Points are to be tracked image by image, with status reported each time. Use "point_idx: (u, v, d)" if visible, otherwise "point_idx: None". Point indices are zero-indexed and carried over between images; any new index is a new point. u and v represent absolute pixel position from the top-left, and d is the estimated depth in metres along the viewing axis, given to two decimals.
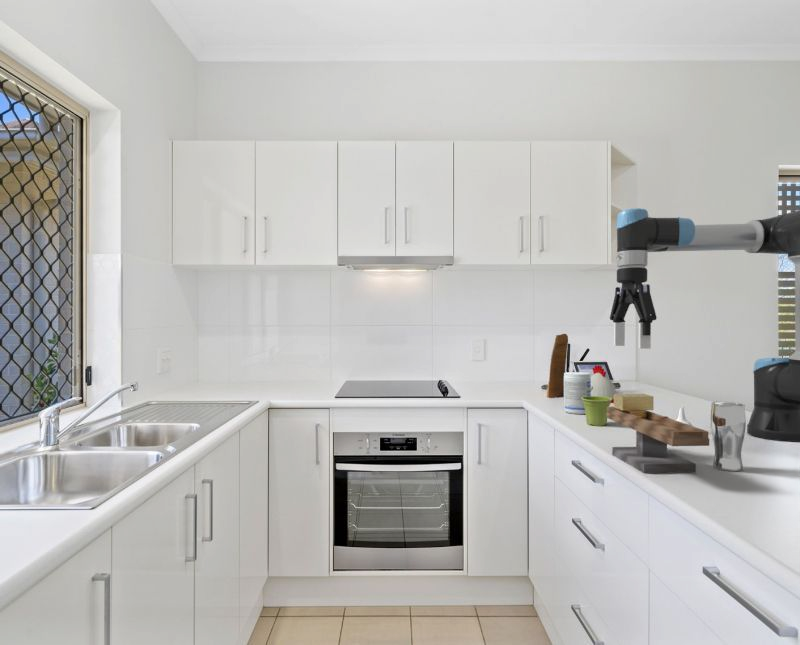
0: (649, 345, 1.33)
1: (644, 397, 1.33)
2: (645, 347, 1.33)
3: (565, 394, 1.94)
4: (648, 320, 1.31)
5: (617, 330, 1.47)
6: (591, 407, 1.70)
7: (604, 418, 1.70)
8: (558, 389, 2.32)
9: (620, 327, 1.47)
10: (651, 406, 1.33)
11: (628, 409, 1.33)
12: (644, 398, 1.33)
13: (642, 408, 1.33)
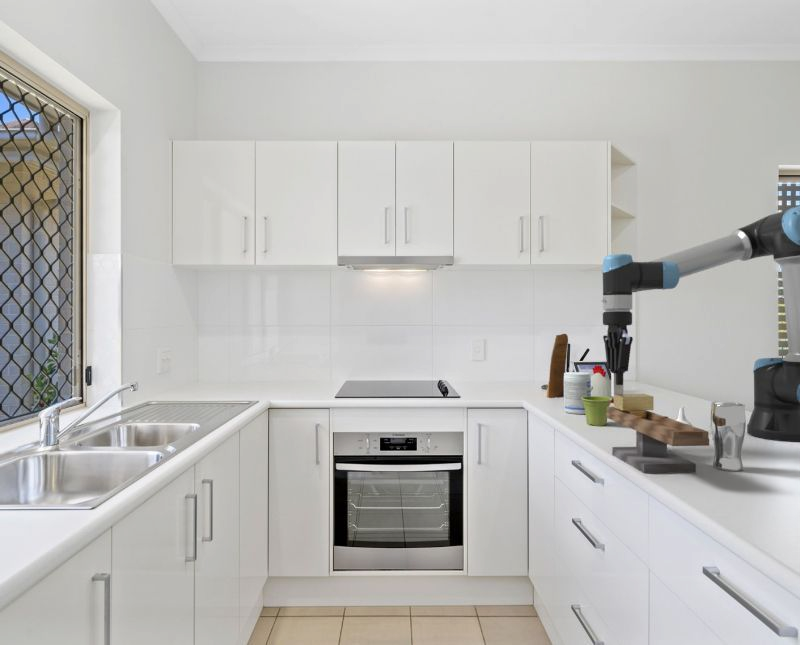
0: (622, 393, 1.44)
1: (644, 397, 1.33)
2: None
3: (565, 394, 1.94)
4: None
5: None
6: (591, 407, 1.70)
7: (604, 418, 1.70)
8: (558, 389, 2.32)
9: None
10: (651, 406, 1.33)
11: (628, 409, 1.33)
12: (644, 398, 1.33)
13: (642, 408, 1.33)
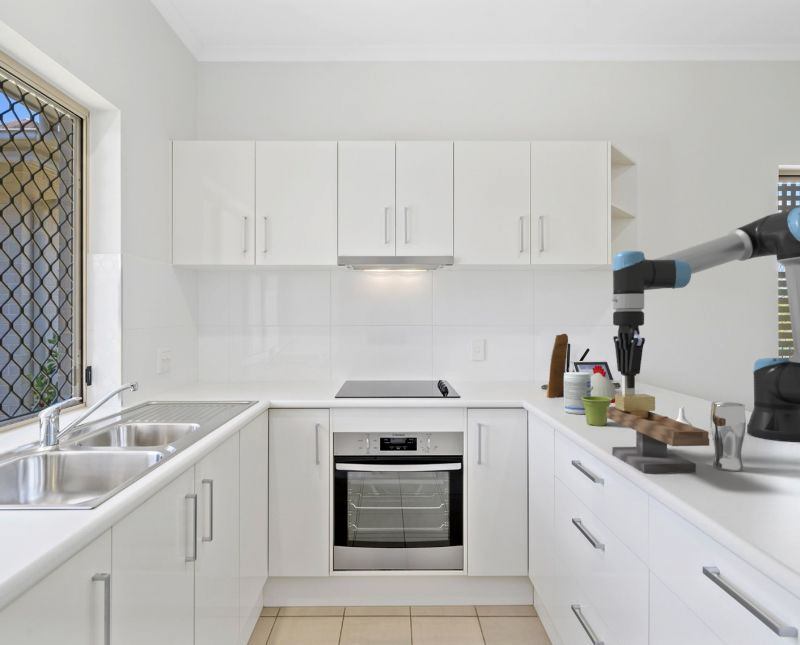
0: None
1: (646, 397, 1.32)
2: None
3: (565, 394, 1.94)
4: None
5: None
6: (591, 407, 1.70)
7: (604, 418, 1.70)
8: (558, 389, 2.32)
9: None
10: (653, 406, 1.32)
11: (629, 410, 1.32)
12: (645, 399, 1.32)
13: (644, 409, 1.32)
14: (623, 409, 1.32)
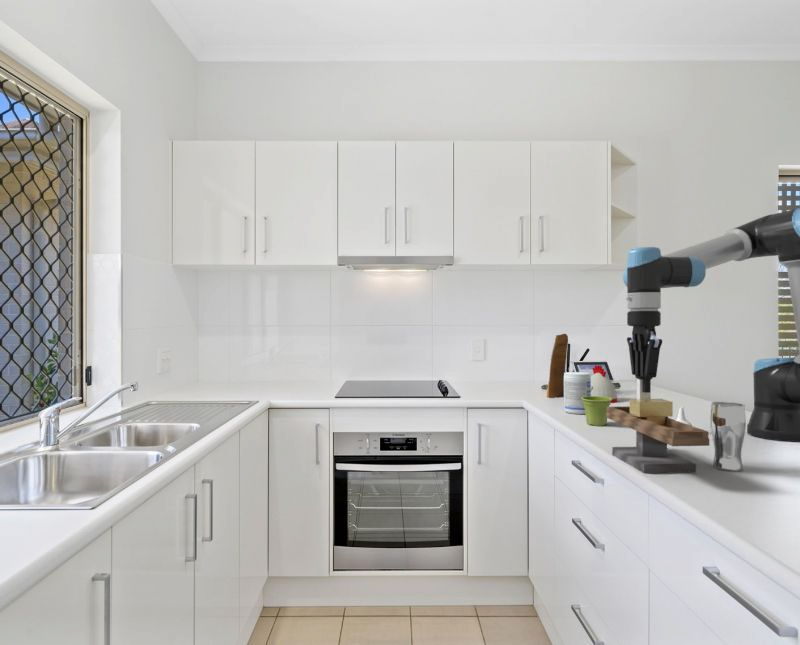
0: None
1: (663, 402, 1.24)
2: None
3: (565, 394, 1.94)
4: None
5: None
6: (591, 407, 1.70)
7: (604, 418, 1.70)
8: (558, 389, 2.32)
9: None
10: (670, 412, 1.24)
11: (645, 415, 1.24)
12: (662, 404, 1.24)
13: (660, 414, 1.24)
14: (639, 415, 1.25)
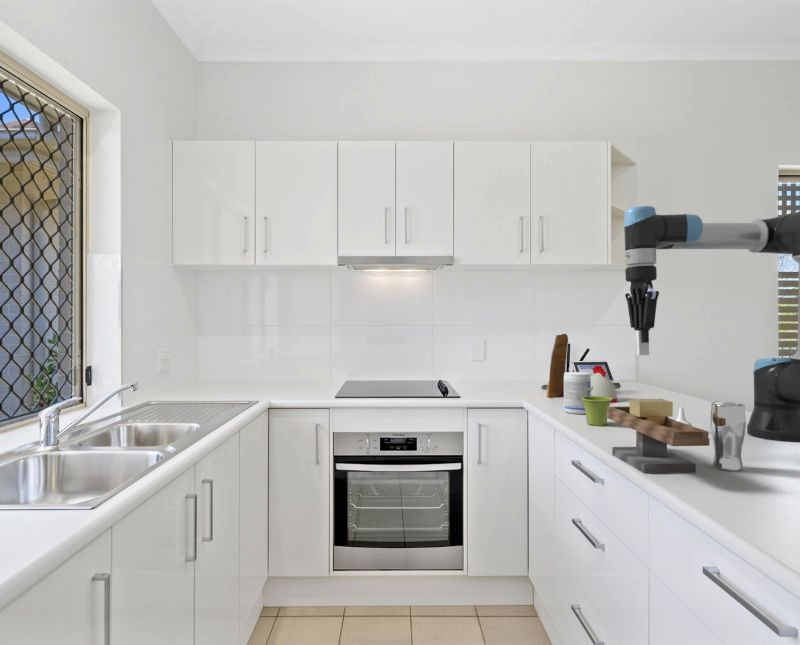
0: (648, 352, 1.38)
1: (663, 402, 1.24)
2: (644, 354, 1.38)
3: (565, 394, 1.94)
4: None
5: None
6: (591, 407, 1.70)
7: (604, 418, 1.70)
8: (558, 389, 2.32)
9: None
10: (670, 412, 1.24)
11: (645, 415, 1.24)
12: (662, 404, 1.24)
13: (660, 414, 1.24)
14: (639, 415, 1.25)
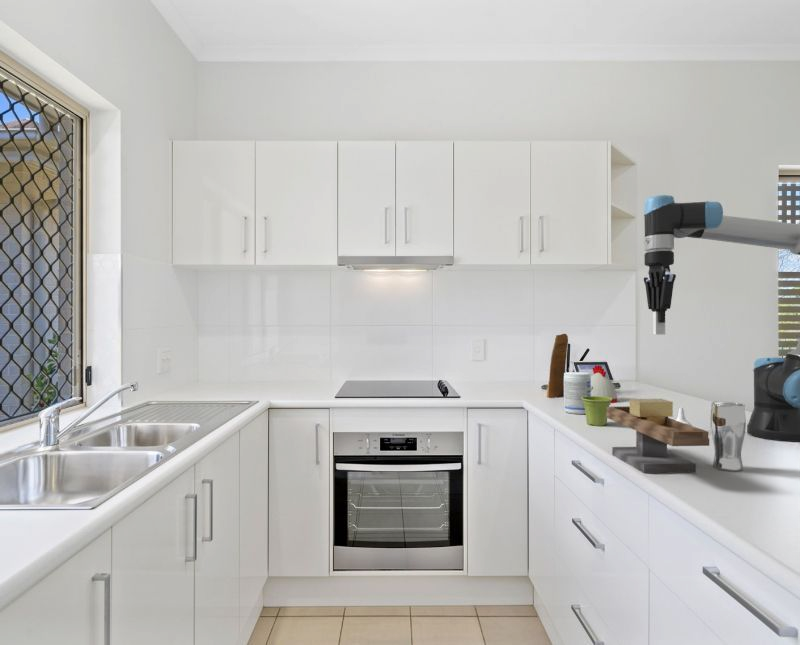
0: (664, 331, 1.48)
1: (663, 402, 1.24)
2: (660, 333, 1.48)
3: (565, 394, 1.94)
4: None
5: None
6: (591, 407, 1.70)
7: (604, 418, 1.70)
8: (558, 389, 2.32)
9: None
10: (670, 412, 1.24)
11: (645, 415, 1.24)
12: (662, 404, 1.24)
13: (660, 414, 1.24)
14: (639, 415, 1.25)
